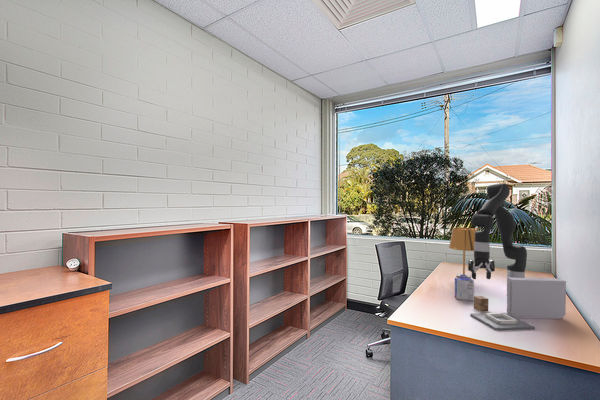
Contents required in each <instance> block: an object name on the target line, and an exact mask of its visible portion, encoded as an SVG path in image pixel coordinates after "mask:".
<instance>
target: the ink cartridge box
mask: <svg viewBox="0 0 600 400" xmlns="http://www.w3.org/2000/svg"><path fill="white" fill-rule="evenodd" d="M461 276H465V277H461ZM460 277H461V278H456V277H455V278H454V297H455V299H456V300H463V301H464V300H465V301H474V296H475V295H474V294H475V293H474V292H475V291H474V287H475V285H474V284H475V283H474V281H475V280H474V279H472V278H471V279H467V276H466V275H460Z"/></svg>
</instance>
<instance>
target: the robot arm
mask: <svg viewBox="0 0 600 400" xmlns="http://www.w3.org/2000/svg"><path fill="white" fill-rule="evenodd" d="M510 192H511V190H510V187H509V185H508V184H507V183H504V182H503V183H495V184H488V185H487V187H486V195H487V197H488V200H487V201H486V202H484V204H483V205H482V207H481V208H480V209H478V211H476V212H475V213H474V214H473V215H472V217H471V219H470V222H471V224H472V225H473V227H477V228H483V230H477V232H475V243H474V251H473V258H474V260H471V259H469V260H468V263H467V264H468V265H467V267H468V268H467V270H468V271H469V272H471V279H472V280H476V279H477V271H478V270H480V269H484V270H486V274H485V277H486V280H491V278H492V273H493V272H495V270H496V269H495V266H496V265H495V260H492V259H490V253H491V252H490V250H491V249H490V248H491V247H490V246H491V245H490V235H491V231H492V227H493V226H494V218H493V216H494V217H495V220H496V224H497V228H498V231H499V235H500V239H501V243H502V249H503V253H504V256H505V257H506V258H508V259H510V260H514V261H515V262H514V263H513V264H512V263H511V264H507V266H506V278H507V277H510V278H526V268H527V258H528V251H527V248H526V247H525V246H523V245H518V244H513V240H512V237H513V233H514V232H515V230H516V222H515V218H514V216H513V214H512V213H511V212H510V211H509V210H507V209H506V208H505V207H504V206H503V205H502V204H503V203H504V202H505V201H506V199H508V198H509V196H510Z"/></svg>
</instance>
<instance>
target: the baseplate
mask: <svg viewBox="0 0 600 400" xmlns="http://www.w3.org/2000/svg"><path fill="white" fill-rule="evenodd" d="M469 314H470V317H471V318H473V319H475V320H477V321H479V322H480V323H482V324H483V325H486V326H488V328H491V329H492V328H493V329H492V330H494V331H496V330H499V331H519V330H520V331H521V330H522V331H526V330H528V331H530V330H535V329H536V327H535V326H534V325H532V324H530V323H528V322H526V321H524V320H522V319H521V318H516V317H513V316H511V315H509V314H507V312H485V313H483V312H475V313H469Z"/></svg>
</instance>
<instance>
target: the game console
mask: <svg viewBox="0 0 600 400" xmlns="http://www.w3.org/2000/svg"><path fill="white" fill-rule="evenodd" d="M566 287H567V280H565V279H561V278H556V277H555V278H552V277H525V278H510V277H507V276H506V313H507V314H509V315H511V316H513V317H515V318H518V319H552V320H554V319H556V320H557V319H558V320H562V318H563V317H565V316H566V312H567V311H566V308H567V307H566V304H567V303H566V299H567V298H566V297H567V296H566V295H567V294H566V293H567V289H566Z"/></svg>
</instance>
